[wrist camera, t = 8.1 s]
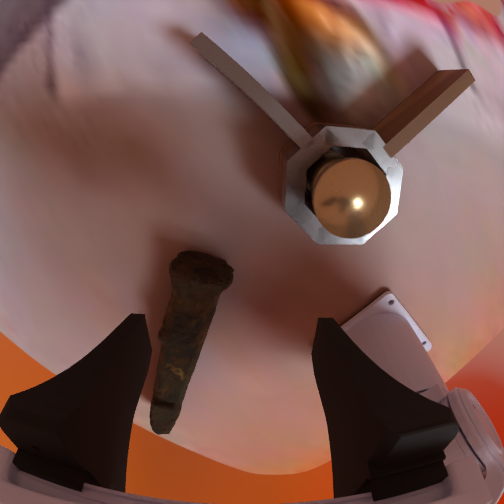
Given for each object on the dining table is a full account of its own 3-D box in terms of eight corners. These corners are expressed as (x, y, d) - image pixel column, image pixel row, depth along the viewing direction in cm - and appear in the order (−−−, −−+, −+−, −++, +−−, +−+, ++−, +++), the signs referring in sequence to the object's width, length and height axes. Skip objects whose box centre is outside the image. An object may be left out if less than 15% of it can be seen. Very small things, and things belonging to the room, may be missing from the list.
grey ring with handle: (395, 178, 20) (419, 193, 16) (324, 240, 21) (337, 265, 18) (243, 13, 15) (243, -5, 12) (166, 87, 17) (149, 84, 14)
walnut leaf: (464, 113, 17) (495, 118, 14) (324, 240, 21) (337, 265, 18) (413, 36, 15) (441, 29, 12) (257, 172, 19) (259, 186, 16)
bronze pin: (350, 200, 20) (385, 238, 15) (293, 200, 20) (311, 239, 15) (354, 143, 19) (395, 162, 13) (295, 141, 19) (316, 158, 13)
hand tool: (180, 239, 22) (165, 274, 17) (235, 258, 22) (233, 296, 18) (139, 397, 29) (129, 433, 25) (175, 408, 30) (169, 445, 26)
